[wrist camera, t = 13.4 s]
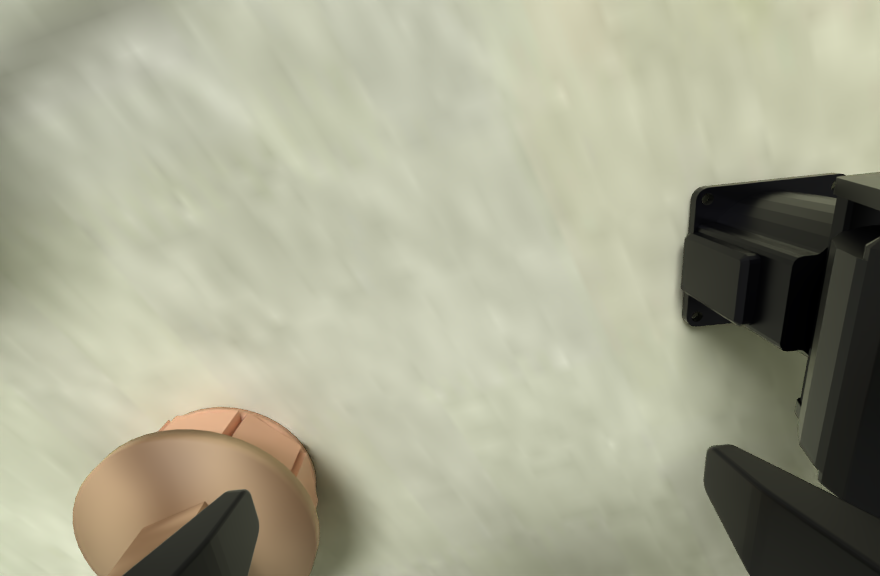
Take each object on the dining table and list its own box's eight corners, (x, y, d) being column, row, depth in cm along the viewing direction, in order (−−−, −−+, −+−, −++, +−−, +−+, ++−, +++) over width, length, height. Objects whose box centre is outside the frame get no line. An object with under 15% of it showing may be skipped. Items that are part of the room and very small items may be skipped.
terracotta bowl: (298, 399, 23) (277, 439, 20) (329, 533, 26) (315, 586, 23) (126, 415, 23) (80, 457, 20) (176, 547, 26) (143, 601, 23)
